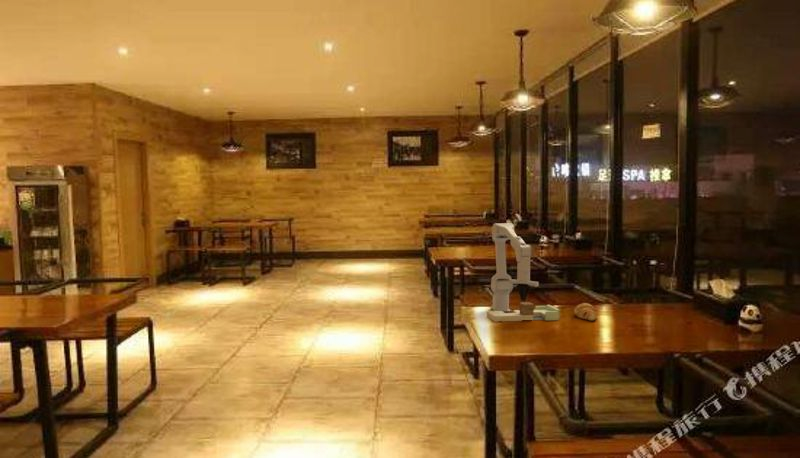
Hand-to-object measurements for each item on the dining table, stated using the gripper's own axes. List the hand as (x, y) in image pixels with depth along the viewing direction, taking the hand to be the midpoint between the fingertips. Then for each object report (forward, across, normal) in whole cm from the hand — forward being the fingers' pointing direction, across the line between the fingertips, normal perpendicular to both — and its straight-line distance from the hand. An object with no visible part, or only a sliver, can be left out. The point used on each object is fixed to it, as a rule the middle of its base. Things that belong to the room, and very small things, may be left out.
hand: (523, 300), depth 272 cm
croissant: (+10, +17, +28) cm, 34 cm away
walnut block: (+7, -1, +5) cm, 9 cm away
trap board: (+10, -4, +6) cm, 12 cm away
